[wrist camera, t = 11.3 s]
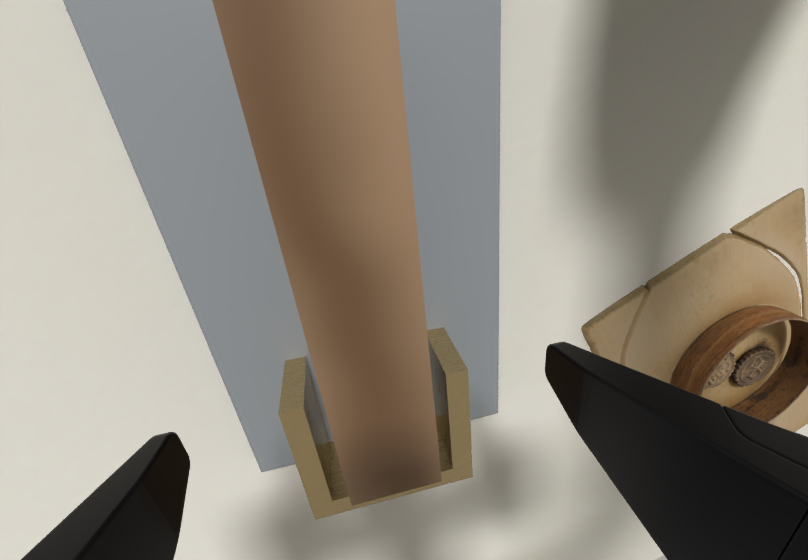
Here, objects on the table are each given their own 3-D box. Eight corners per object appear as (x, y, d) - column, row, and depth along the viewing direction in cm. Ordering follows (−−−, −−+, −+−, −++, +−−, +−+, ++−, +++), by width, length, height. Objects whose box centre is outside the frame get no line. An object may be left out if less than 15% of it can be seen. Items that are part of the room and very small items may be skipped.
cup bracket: (443, 326, 19) (468, 369, 16) (450, 424, 22) (472, 476, 19) (285, 360, 18) (278, 414, 15) (315, 458, 21) (315, 519, 18)
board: (565, 318, 23) (601, 349, 20) (792, 169, 21) (865, 179, 18) (657, 500, 34) (689, 536, 31) (808, 409, 33) (855, 438, 30)
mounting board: (491, -121, 13) (501, -135, 12) (492, 403, 23) (498, 412, 23) (34, -102, 11) (13, -117, 10) (263, 460, 21) (261, 472, 21)
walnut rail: (365, 12, 13) (391, -37, 8) (415, 401, 21) (441, 481, 16) (245, 22, 12) (206, -23, 8) (344, 418, 20) (351, 505, 16)
